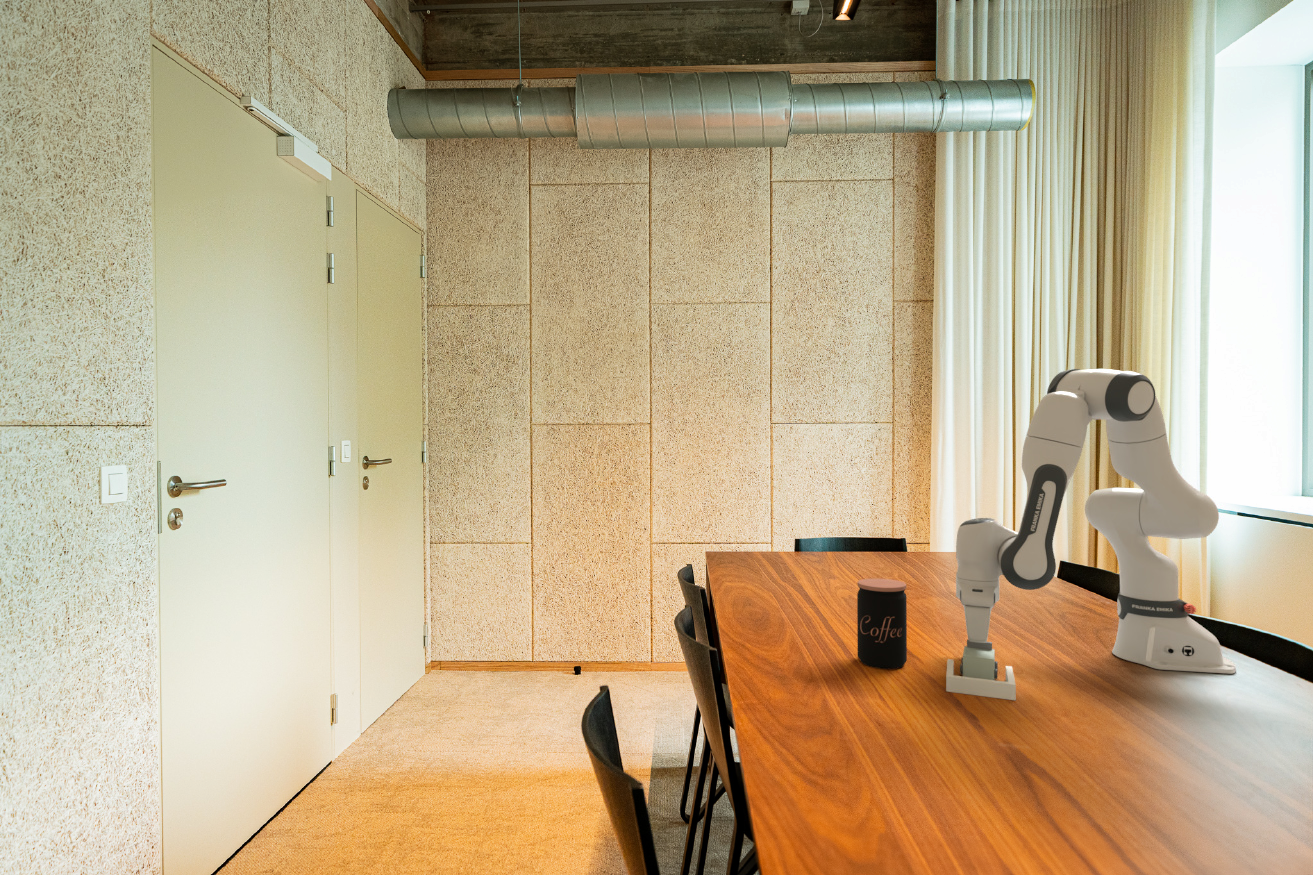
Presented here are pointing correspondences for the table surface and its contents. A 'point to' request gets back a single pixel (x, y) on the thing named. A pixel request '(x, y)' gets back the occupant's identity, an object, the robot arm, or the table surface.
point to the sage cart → (979, 661)
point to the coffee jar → (882, 623)
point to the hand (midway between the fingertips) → (977, 652)
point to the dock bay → (981, 684)
